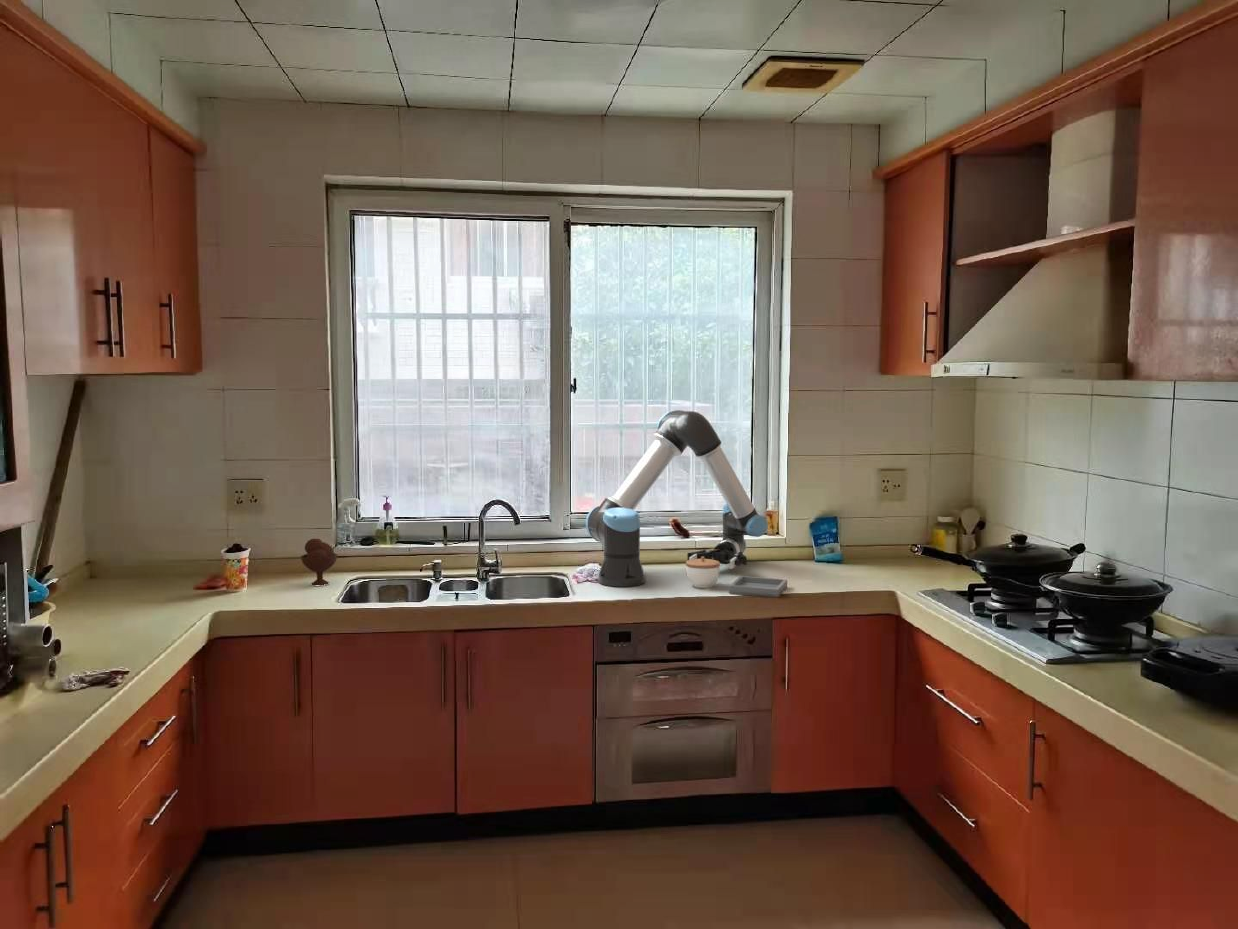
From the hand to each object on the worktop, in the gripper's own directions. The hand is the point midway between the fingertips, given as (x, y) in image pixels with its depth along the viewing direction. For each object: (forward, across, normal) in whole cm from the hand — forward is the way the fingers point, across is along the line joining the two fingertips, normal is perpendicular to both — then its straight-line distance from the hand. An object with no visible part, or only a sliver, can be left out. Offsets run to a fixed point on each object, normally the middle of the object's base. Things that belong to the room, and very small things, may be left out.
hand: (710, 563), depth 290 cm
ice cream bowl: (+49, +116, -6) cm, 126 cm away
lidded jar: (+8, 0, -6) cm, 10 cm away
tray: (+8, -18, -6) cm, 20 cm away
